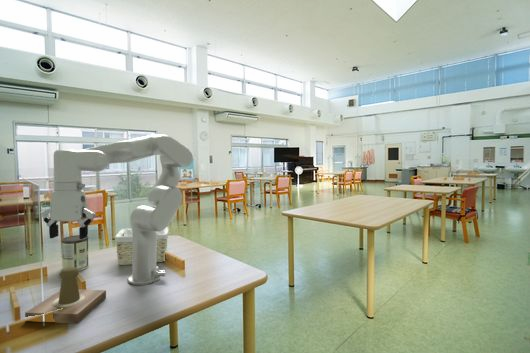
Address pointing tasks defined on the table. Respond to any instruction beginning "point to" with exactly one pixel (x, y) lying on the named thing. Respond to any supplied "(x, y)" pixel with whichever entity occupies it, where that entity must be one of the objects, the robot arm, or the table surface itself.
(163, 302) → the table surface
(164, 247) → the storage basket
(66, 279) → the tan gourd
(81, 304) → the base
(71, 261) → the coffee can
